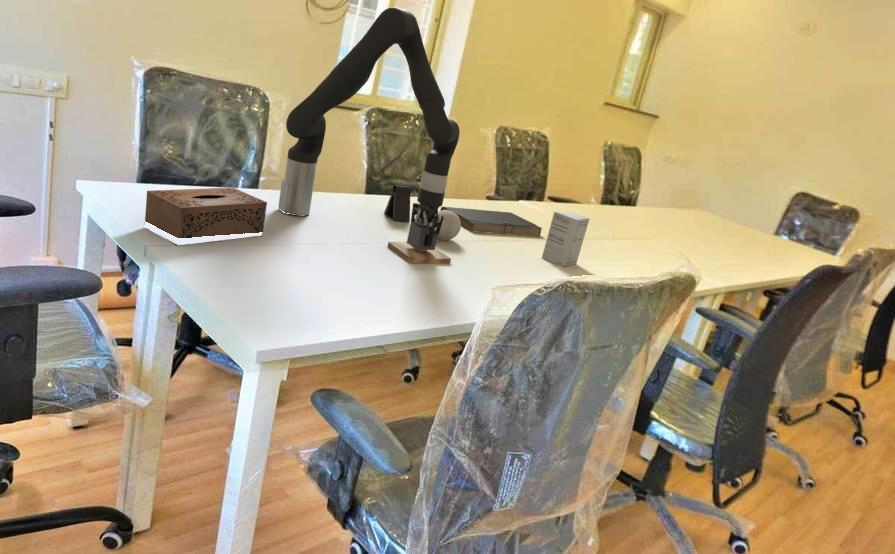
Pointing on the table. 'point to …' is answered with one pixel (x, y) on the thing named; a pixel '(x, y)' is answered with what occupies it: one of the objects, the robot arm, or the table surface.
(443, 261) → the base plate
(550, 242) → the supplement box
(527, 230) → the file folder
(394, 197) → the phone stand
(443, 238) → the eye model
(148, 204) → the tissue box cover
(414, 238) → the knob
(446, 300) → the table surface
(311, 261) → the table surface
